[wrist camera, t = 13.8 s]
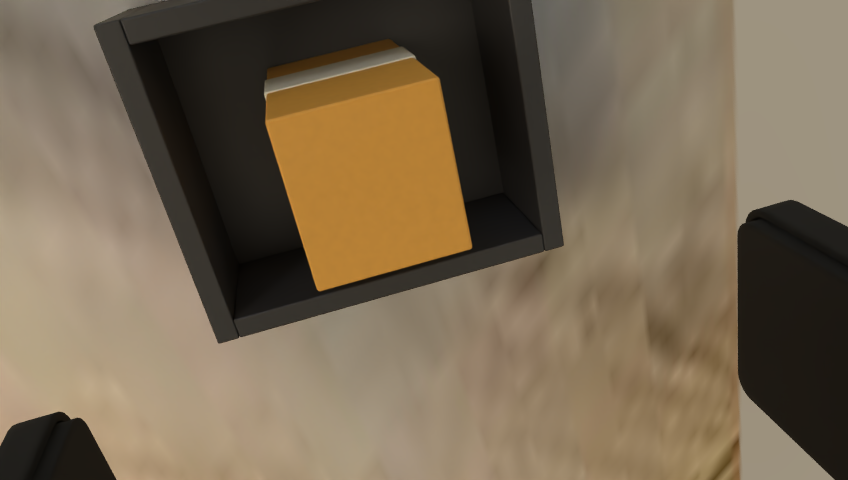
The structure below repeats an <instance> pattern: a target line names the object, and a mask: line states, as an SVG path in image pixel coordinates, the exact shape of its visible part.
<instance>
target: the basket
mask: <svg viewBox="0 0 848 480" xmlns="http://www.w3.org/2000/svg"><path fill="white" fill-rule="evenodd" d="M94 30H95V32H96V35H97V38H98V40H99V43H100V45H101V48H102V50H103V53H104V55H105V58H106V60H107V63H108V65H109V68H110V70H111V73H112V76H113V78H114V81H115V83H116V86H117V88H118V91H119V93H120V96H121V98H122V101H123V103H124V106H125V108H126V111H127V113H128V116H129V119H130V121H131V124H132V126H133V129H134V131H135V134H136V136H137V139H138V141H139V144H140V146H141V149H142V151H143V154H144V157H145V159H146V162H147V164H148V167H149V169H150V172H151V174H152V177H153V179H154V182H155V184H156V187H157V189H158V192H159V194H160V197H161V200H162V202H163V205H164V207H165V210H166V212H167V215H168V217H169V220H170V222H171V225H172V227H173V230H174V232H175V235H176V238H177V240H178V243H179V245H180V248H181V250H182V253H183V255H184V258H185V260H186V263H187V265H188V268H189V270H190V273H191V275H192V278H193V281H194V283H195V286H196V288H197V291H198V293H199V296H200V298H201V301H202V303H203V306H204V308H205V311H206V313H207V316H208V318H209V321H210V324H211V326H212V329H213V331H214V334H215V336H216V339H217V341H218V343H223V342H227V341H230V340H234V339H237V338H239V336H240V337H244V336H247V335H251V334H254V333H258V332H261V331H265V330H268V329H272V328H275V327H279V326H282V325H286V324H289V323H293V322H297V321H300V320H304V319H307V318H311V317H314V316H318V315H321V314H325V313H328V312H332V311H335V310H339V309H343V308H346V307H350V306H353V305H357V304H360V303H364V302H367V301H371V300H374V299H378V298H381V297H385V296H388V295H392V294H396V293H399V292H403V291H406V290H410V289H413V288H417V287H420V286H424V285H427V284H431V283H434V282H438V281H441V280H445V279H449V278H452V277H456V276H459V275H463V274H466V273H470V272H473V271H477V270H480V269H484V268H487V267H491V266H495V265H498V264H502V263H505V262H509V261H512V260H516V259H519V258H523V257H526V256H530V255H533V254H537V253H540V252H543V251H544V250H545V251H548V250H551V249H555V248H558V247H562V246H563V245H564V243H563V235H562V228H561V220H560V213H559V205H558V198H557V190H556V183H555V175H554V168H553V160H552V153H551V145H550V138H549V130H548V123H547V115H546V108H545V100H544V93H543V85H542V78H541V70H540V63H539V55H538V48H537V40H536V33H535V25H534V18H533V10H532V3H531V0H167V1H163V2H159V3H154V4H150V5H146V6H141V7H137V8H133V9H129V10H127V11H125V12H122V13H120V14H118V15H116V16H113V17H111V18H109V19H107V20H105V21H102V22H100V23H98V24H96V25H94ZM386 39H391V40H392V41H393V42H394V43H396V44H397V45H398V46H399V47H401V46H402V47H404V48H405V49H407V50H408V51H409V52H411V53H412V54H413V55H415V57H416V60H417V61H418V62H420V63H421V64H422V65H423V66H425V67H426V68H427V69H429V70H430V71H431V72H432V73H434V74H435V75H436V76H437V77H439V79H440V83H441V88H442V93H443V98H444V104H445V109H446V114H447V119H448V124H449V129H450V134H451V139H452V144H453V150H454V155H455V160H456V165H457V170H458V175H459V180H460V185H461V190H462V195H463V201H464V206H465V211H466V216H467V221H468V226H469V231H470V236H471V241H472V249H470V250H466V251H463V252H459V253H456V254H452V255H448V256H445V257H441V258H438V259H434V260H430V261H427V262H423V263H420V264H416V265H413V266H409V267H405V268H402V269H398V270H395V271H391V272H388V273H384V274H380V275H377V276H373V277H370V278H366V279H362V280H359V281H355V282H352V283H348V284H345V285H341V286H337V287H334V288H330V289H327V290H323V291H318V290H317V288H316V285H315V282H314V279H313V275H312V272H311V269H310V266H309V263H308V259H307V256H306V253H305V250H304V247H303V243H302V240H301V237H300V234H299V230H298V227H297V224H296V221H295V218H294V214H293V211H292V208H291V205H290V201H289V198H288V195H287V192H286V189H285V185H284V182H283V179H282V176H281V173H280V169H279V166H278V163H277V160H276V156H275V153H274V150H273V147H272V144H271V140H270V137H269V134H268V131H267V128H266V124H265V117H266V100H265V96H264V87H265V80H267V69H268V68H271V67H276V66H280V65H284V64H288V63H292V62H296V61H300V60H304V59H308V58H312V57H316V56H320V55H324V54H329V53H333V52H337V51H341V50H345V49H349V48H353V47H357V46H361V45H365V44H369V43H373V42H377V41H382V40H386Z"/></svg>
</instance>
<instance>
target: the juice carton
mask: <svg viewBox="0 0 848 480" xmlns="http://www.w3.org/2000/svg"><path fill="white" fill-rule="evenodd" d="M264 96H265V100H266V117H265V124H266V128H267V131H268V134H269V137H270V140H271V144H272V147H273V150H274V153H275V156H276V160H277V163H278V166H279V169H280V173H281V176H282V179H283V182H284V185H285V189H286V192H287V195H288V198H289V201H290V205H291V208H292V211H293V214H294V218H295V221H296V224H297V227H298V230H299V234H300V237H301V240H302V243H303V247H304V250H305V253H306V256H307V259H308V263H309V266H310V269H311V272H312V275H313V279H314V282H315V285H316V288H317V290H318V291H323V290H327V289H330V288H334V287H337V286H341V285H345V284H348V283H352V282H355V281H359V280H362V279H366V278H370V277H373V276H377V275H380V274H384V273H388V272H391V271H395V270H398V269H402V268H405V267H409V266H413V265H416V264H420V263H423V262H427V261H430V260H434V259H438V258H441V257H445V256H448V255H452V254H456V253H459V252H463V251H466V250H470V249H472V241H471V236H470V231H469V226H468V221H467V216H466V211H465V206H464V201H463V195H462V190H461V185H460V180H459V175H458V170H457V165H456V160H455V155H454V150H453V144H452V139H451V134H450V129H449V124H448V119H447V114H446V109H445V104H444V98H443V93H442V88H441V83H440V79H439V77H437V76H436V75H435V74H434V73H432V72H431V71H430V70H429V69H427V68H426V67H425V66H423V65H422V64H421V63H420V62H418V61H417V60H416V57H415V55H413V54H412V53H411V52H409V51H408V50H407V49H405V48H404V47H402V46H401V47H399V46H398V45H397V44H396V43H394V42H393V41H392V40H391V39H386V40H382V41H377V42H373V43H369V44H365V45H361V46H357V47H353V48H349V49H345V50H341V51H337V52H333V53H329V54H324V55H320V56H316V57H312V58H308V59H304V60H300V61H296V62H292V63H288V64H284V65H280V66H276V67H271V68H268V69H267V80H265V87H264Z"/></svg>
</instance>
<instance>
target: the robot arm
mask: <svg viewBox="0 0 848 480" xmlns="http://www.w3.org/2000/svg"><path fill="white" fill-rule="evenodd" d="M738 375H739V380H740V383H741V385H742V388H743V390H744V391H745V393H746V394H747V396H748V397H749V398H750V399H751V400H752V401H753V402H754V403H755V404H756V405H757V406H758V407H759V408H761V410H763V411H764V412H765V413H766V414H767V415H768V416H769V417H770V418H771V419H772V420H773V421H774V422H775V423H776V424H777V425H778V426H779V427H780V428H781V429H782V430H783V431H784V432H786V433H787V434H788V435H789V436H790V437H791V438H792V439H793V440H794V441H795V442H796V443H797V444H798V445H799V446H800V447H801V448H802V449H803V450H804V451H805V452H806V453H807V454H809V455H810V456H811V457H812V458H813V459H814V460H815V461H816V462H817V463H818V464H819V465H820V466H821V467H822V468H823V469H824V470H825V471H826V472H827V473H828V474H829V475H830V476H832V477H833V478H834V479H835V480H848V227H847V226H845V225H843V224H841V223H839V222H837V221H835V220H833V219H831V218H829V217H827V216H825V215H823V214H821V213H819V212H817V211H815V210H813V209H811V208H809V207H807V206H805V205H803V204H801V203H799V202H797V201H794V200H788V201H784V202H781V203H777V204H774V205H770V206H767V207H763V208H760V209H756V210H753V211H752V212H750V213H749V214H748V217H747V219H746V223H744V224H742V225H741V226H740V228H739V230H738ZM0 480H116V478H115V476H114V474H113V472H112V470H111V469H110V467H109V465H108V463H107V461H106V459H105V457H104V456H103V454H102V452H101V450H100V448H99V446H98V444H97V442H96V441H95V439H94V437H93V435H92V433H91V431H90V429H89V428H88V426H87V424H86V423H85V421H83V420H82V419H81V418H75V419H72V420H71V419H70V418H69V417H68V416H67V415H66V414H65V413H63V412H56V413H53V414H49V415H46V416H42V417H39V418H35V419H32V420H28V421H25V422H22V423H18V424H16V425H13V426H12V427H11V428H10V429H9V431H8V432H7V434H6V436H5V438H4V440H3V442H2V444H1V446H0Z"/></svg>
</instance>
